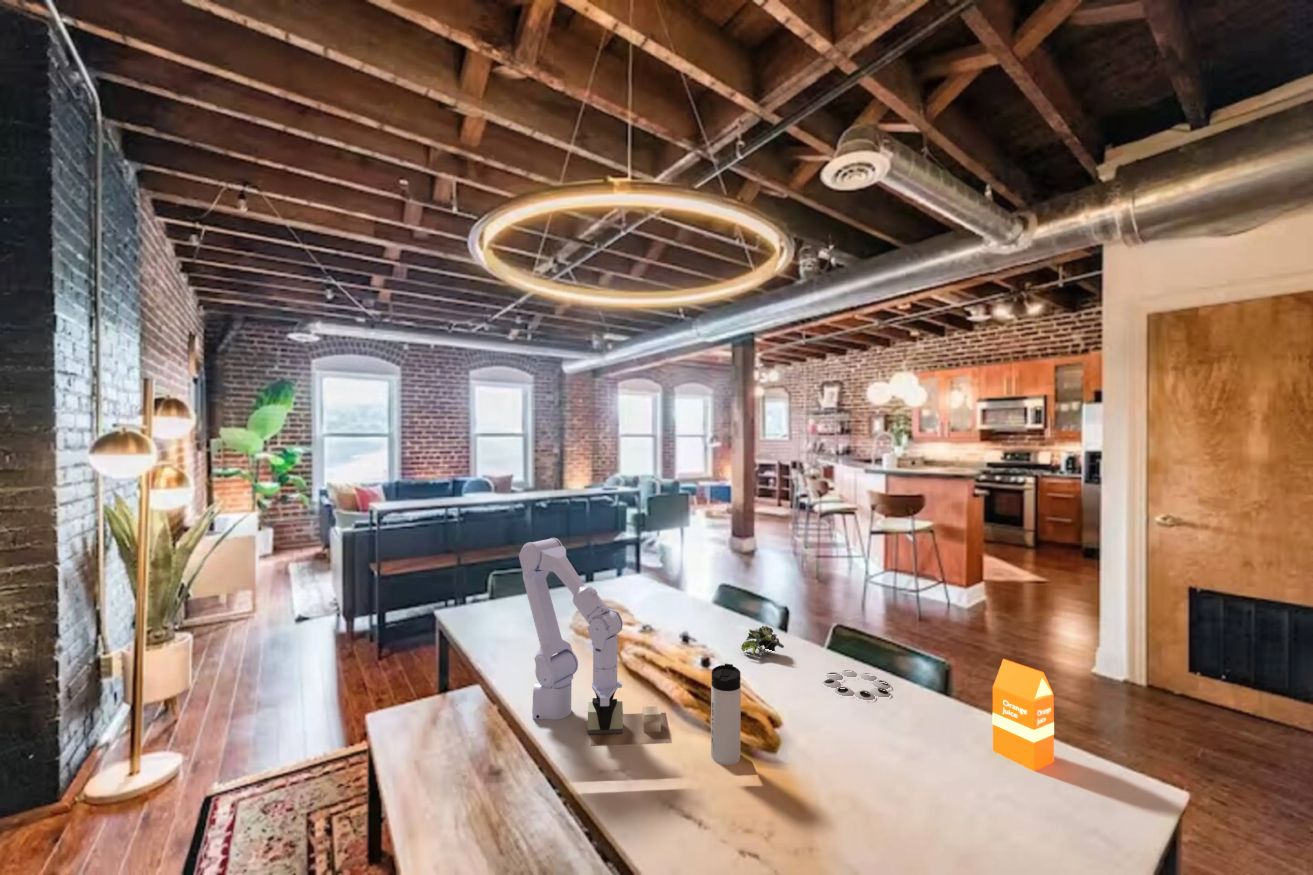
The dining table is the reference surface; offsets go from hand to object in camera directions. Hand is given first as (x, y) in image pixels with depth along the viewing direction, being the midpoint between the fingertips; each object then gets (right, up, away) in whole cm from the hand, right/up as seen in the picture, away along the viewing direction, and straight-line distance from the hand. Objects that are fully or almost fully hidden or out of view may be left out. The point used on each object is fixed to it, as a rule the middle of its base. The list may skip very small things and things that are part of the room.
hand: (604, 722), depth 130 cm
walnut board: (+6, -3, 0) cm, 7 cm away
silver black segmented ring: (+69, -4, +28) cm, 74 cm away
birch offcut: (+11, -2, +1) cm, 11 cm away
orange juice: (+93, -4, -7) cm, 93 cm away
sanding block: (0, -1, 0) cm, 1 cm away
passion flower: (+46, -4, +50) cm, 68 cm away
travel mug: (+27, -3, -11) cm, 29 cm away
